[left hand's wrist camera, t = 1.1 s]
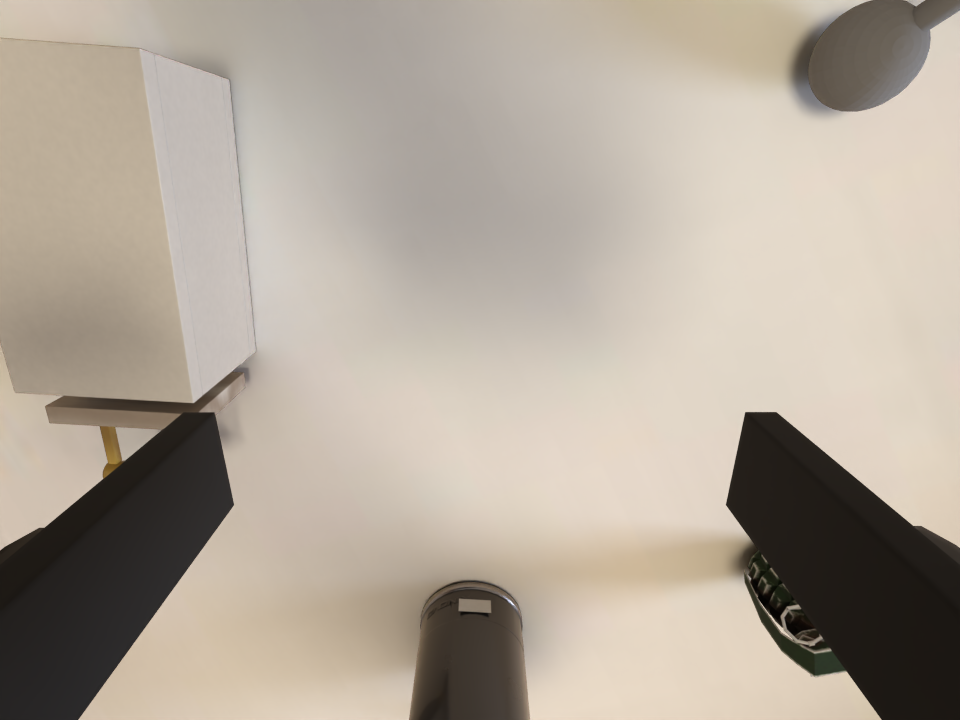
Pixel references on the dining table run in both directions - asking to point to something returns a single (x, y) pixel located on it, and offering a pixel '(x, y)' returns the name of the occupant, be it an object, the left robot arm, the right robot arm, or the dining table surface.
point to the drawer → (137, 413)
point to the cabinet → (118, 224)
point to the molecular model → (874, 52)
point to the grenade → (788, 621)
